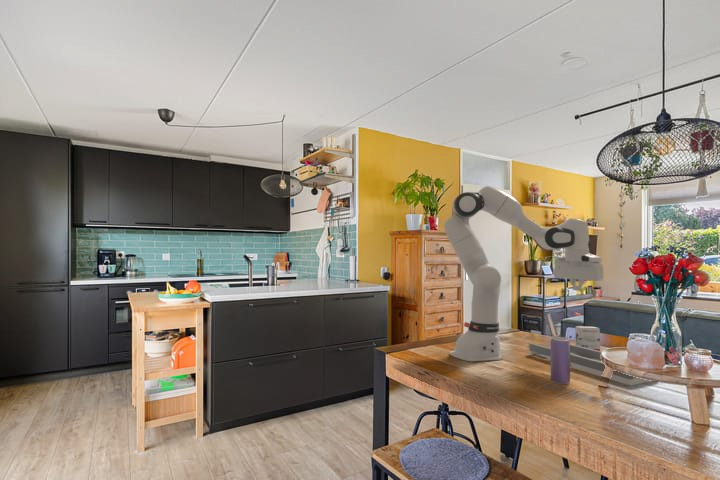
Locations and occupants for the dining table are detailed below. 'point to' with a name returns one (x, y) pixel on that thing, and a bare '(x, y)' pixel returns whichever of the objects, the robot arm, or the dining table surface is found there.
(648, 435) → the dining table surface
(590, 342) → the ink box
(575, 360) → the trap track
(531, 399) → the dining table surface
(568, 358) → the beverage can
